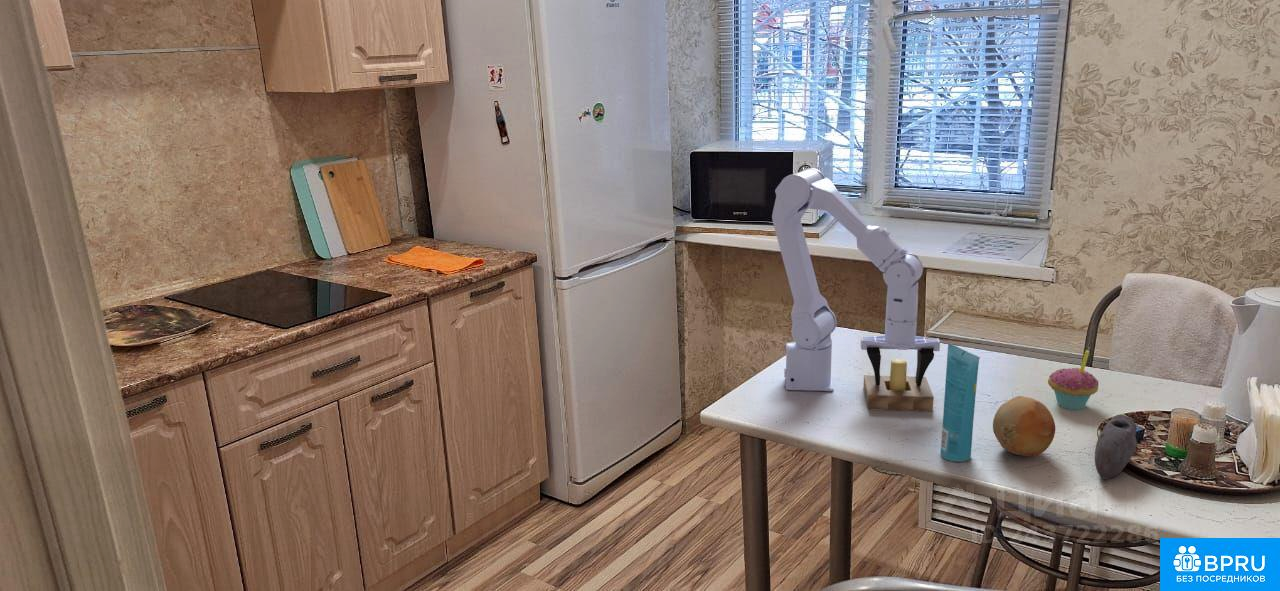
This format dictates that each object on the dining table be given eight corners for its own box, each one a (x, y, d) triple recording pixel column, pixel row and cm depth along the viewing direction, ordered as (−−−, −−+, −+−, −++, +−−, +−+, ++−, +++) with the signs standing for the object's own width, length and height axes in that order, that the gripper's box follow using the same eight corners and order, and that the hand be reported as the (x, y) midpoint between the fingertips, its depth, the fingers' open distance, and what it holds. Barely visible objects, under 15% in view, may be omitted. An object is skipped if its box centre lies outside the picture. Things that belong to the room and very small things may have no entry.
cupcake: (1095, 399, 168) (1102, 341, 165) (1096, 417, 161) (1104, 356, 157) (1046, 393, 172) (1052, 336, 168) (1045, 410, 164) (1051, 350, 161)
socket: (867, 409, 168) (868, 395, 167) (863, 389, 177) (863, 375, 176) (932, 411, 166) (933, 396, 165) (924, 390, 175) (925, 376, 174)
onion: (982, 456, 148) (986, 402, 145) (1001, 435, 155) (1006, 383, 152) (1042, 472, 142) (1048, 416, 139) (1059, 449, 149) (1065, 395, 146)
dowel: (889, 402, 170) (891, 364, 168) (888, 396, 173) (890, 359, 171) (905, 403, 170) (907, 365, 167) (904, 397, 172) (906, 359, 170)
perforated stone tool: (1117, 490, 136) (1123, 450, 134) (1080, 481, 139) (1085, 441, 137) (1139, 454, 147) (1144, 416, 145) (1105, 446, 150) (1110, 409, 148)
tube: (982, 461, 146) (991, 354, 141) (960, 468, 144) (969, 359, 139) (949, 444, 153) (956, 340, 147) (928, 450, 151) (935, 345, 145)
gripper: (863, 323, 164) (861, 390, 168) (944, 325, 162) (939, 392, 165) (860, 312, 171) (858, 376, 174) (938, 313, 168) (933, 378, 172)
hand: (897, 383), depth 170 cm, fingers open, 7 cm apart
